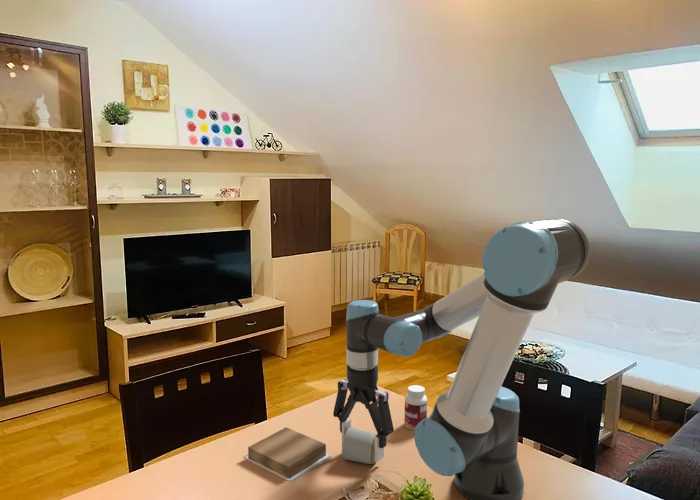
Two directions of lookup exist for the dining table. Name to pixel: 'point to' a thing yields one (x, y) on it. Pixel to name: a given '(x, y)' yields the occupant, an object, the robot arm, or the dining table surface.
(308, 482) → the dining table surface
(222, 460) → the dining table surface
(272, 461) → the walnut slab
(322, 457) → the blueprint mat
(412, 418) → the pill bottle
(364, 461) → the ceramic mug
